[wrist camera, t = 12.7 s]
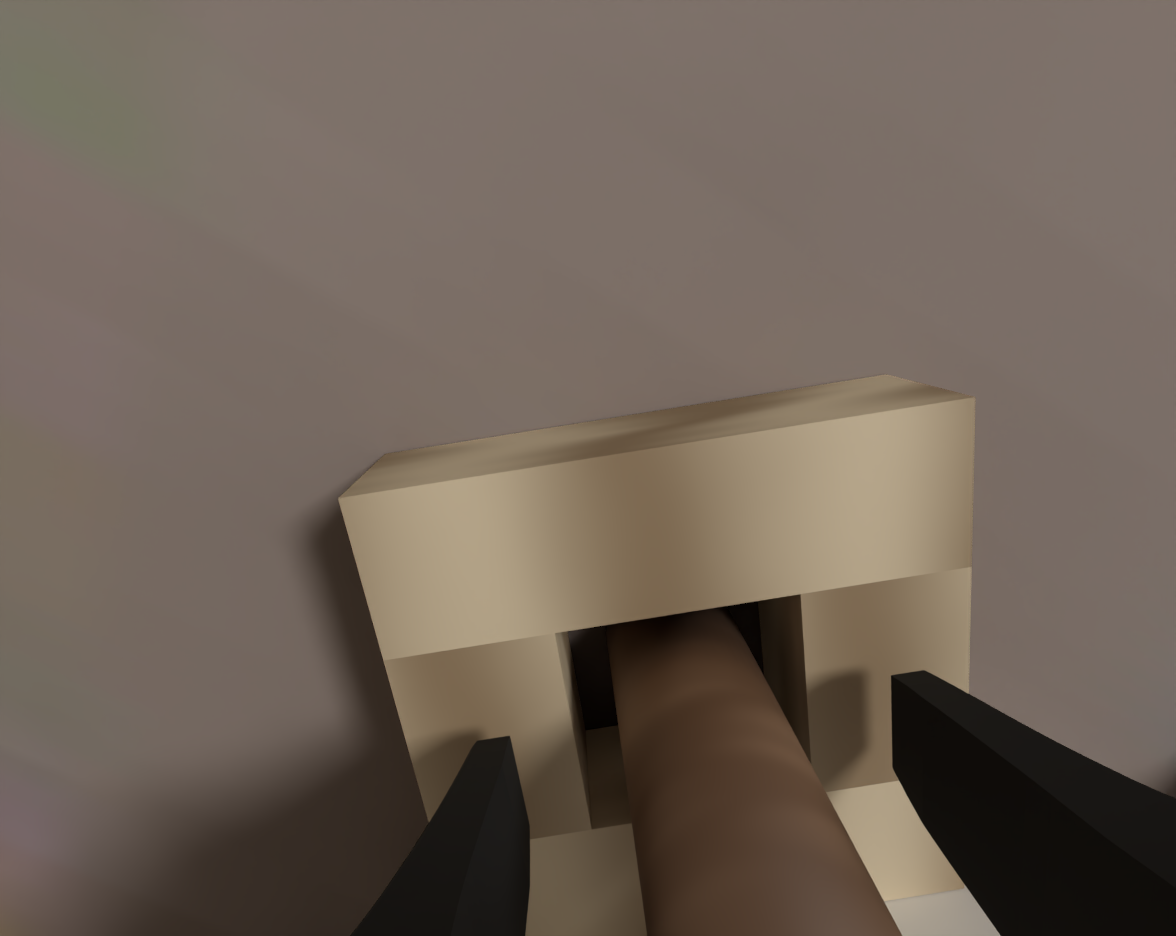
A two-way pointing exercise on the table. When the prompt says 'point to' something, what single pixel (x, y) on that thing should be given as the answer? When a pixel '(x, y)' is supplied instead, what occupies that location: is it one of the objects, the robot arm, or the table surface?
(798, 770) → the dowel
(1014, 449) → the table surface
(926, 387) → the block
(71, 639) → the table surface
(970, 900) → the white rectangular slab
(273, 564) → the table surface
